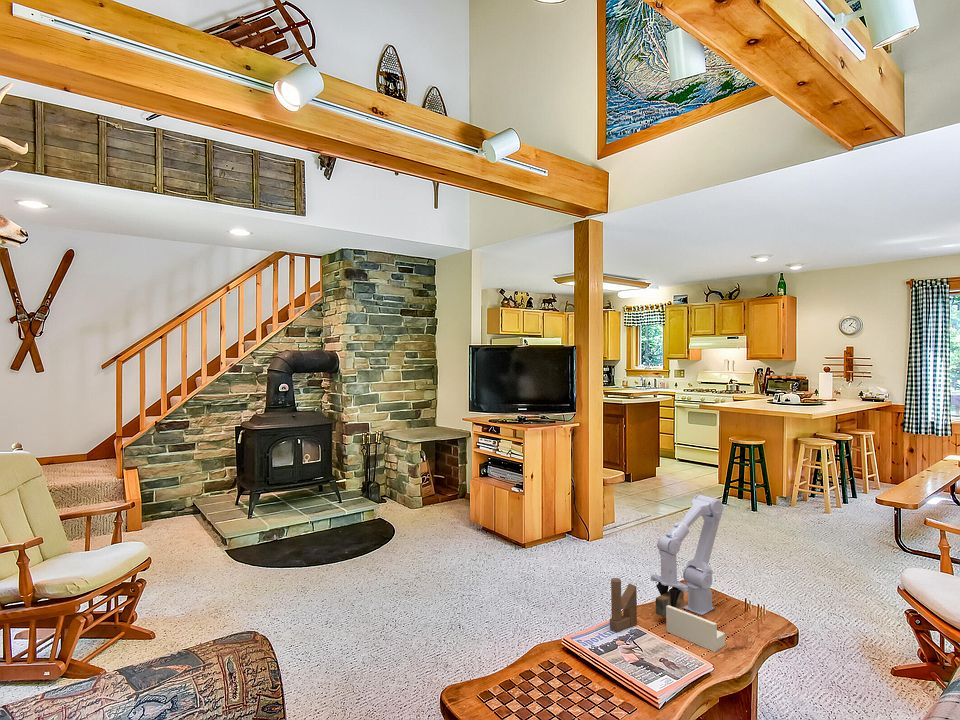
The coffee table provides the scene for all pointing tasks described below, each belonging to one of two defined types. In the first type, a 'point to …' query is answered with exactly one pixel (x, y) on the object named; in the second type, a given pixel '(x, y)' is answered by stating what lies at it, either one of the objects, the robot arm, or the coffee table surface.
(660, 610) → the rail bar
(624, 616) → the brown upright shaped block
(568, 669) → the coffee table surface
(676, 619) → the stepped cream panel
